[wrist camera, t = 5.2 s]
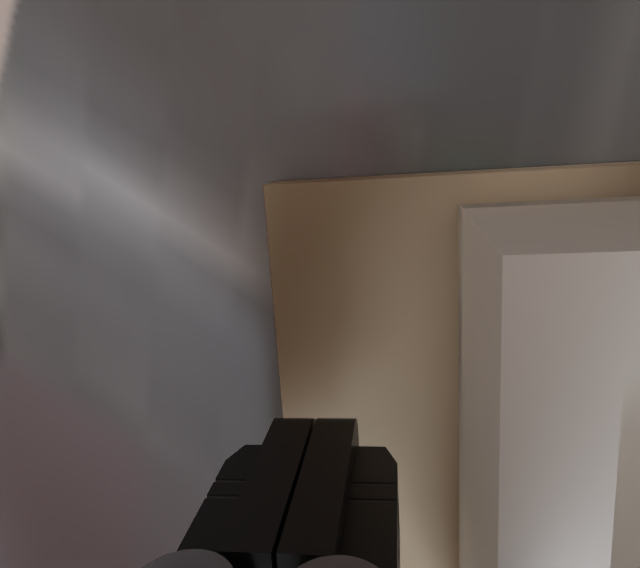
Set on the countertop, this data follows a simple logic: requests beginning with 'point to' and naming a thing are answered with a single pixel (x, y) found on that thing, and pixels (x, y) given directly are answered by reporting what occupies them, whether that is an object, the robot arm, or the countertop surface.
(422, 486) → the frame
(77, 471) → the countertop surface
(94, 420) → the countertop surface
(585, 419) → the socket block
